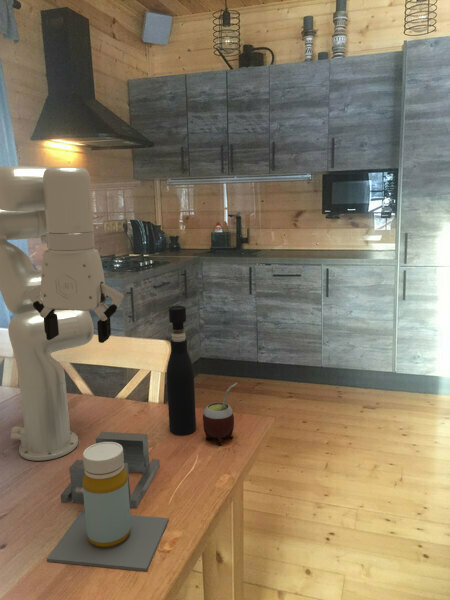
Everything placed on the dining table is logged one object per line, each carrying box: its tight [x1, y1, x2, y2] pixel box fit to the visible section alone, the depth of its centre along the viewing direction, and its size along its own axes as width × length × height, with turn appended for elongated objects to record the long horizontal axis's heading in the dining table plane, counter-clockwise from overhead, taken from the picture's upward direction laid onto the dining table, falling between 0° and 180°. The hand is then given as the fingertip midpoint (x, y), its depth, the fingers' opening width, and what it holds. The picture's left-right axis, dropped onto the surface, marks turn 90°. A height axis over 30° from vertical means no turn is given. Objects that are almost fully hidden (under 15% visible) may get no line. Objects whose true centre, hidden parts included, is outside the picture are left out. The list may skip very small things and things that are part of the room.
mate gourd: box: [202, 381, 239, 447], centre depth 112 cm, size 8×8×15 cm
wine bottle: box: [166, 305, 197, 437], centre depth 116 cm, size 6×6×30 cm
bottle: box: [82, 442, 131, 548], centre depth 80 cm, size 7×7×15 cm
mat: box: [46, 510, 169, 572], centre depth 81 cm, size 16×12×1 cm
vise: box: [60, 431, 161, 509], centre depth 96 cm, size 14×17×7 cm
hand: (78, 339), depth 88 cm, fingers open, 9 cm apart
